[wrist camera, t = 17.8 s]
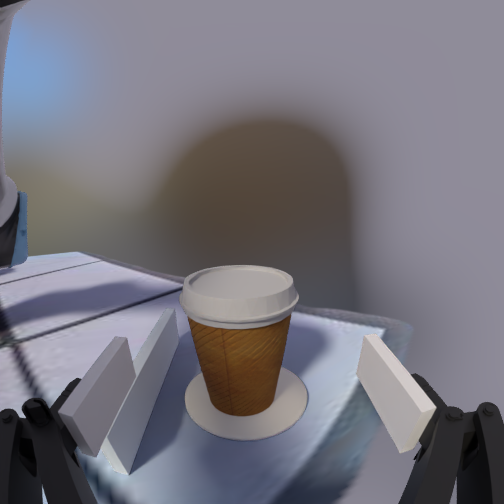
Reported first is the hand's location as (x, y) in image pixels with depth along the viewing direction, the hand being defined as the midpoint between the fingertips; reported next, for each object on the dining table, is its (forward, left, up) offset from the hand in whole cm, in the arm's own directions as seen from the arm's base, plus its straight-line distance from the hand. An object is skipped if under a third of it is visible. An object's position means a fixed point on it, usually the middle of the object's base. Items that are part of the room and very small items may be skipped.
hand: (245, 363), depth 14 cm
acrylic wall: (-11, -7, -10) cm, 17 cm away
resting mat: (-9, +2, -10) cm, 14 cm away
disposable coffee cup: (-8, +2, -10) cm, 13 cm away
